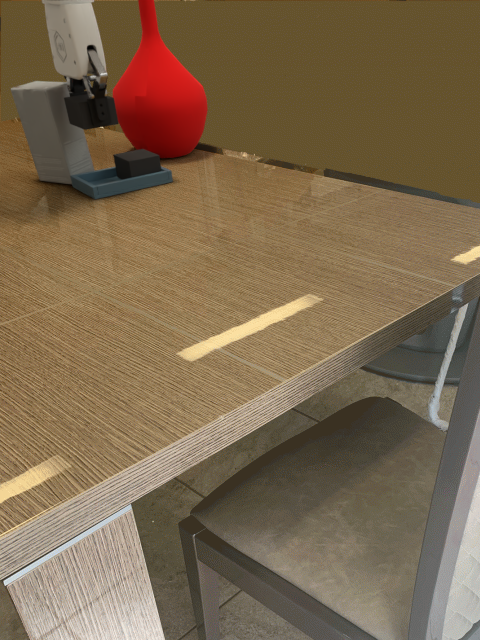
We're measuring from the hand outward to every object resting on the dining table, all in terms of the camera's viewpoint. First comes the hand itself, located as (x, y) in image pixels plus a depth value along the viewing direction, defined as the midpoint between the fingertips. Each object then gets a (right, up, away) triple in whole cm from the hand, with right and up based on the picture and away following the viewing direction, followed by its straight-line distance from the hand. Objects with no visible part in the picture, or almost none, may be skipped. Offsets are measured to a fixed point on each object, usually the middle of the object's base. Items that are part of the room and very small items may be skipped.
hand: (93, 120), depth 107 cm
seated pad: (+5, -6, +10) cm, 13 cm away
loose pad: (0, 0, 0) cm, 1 cm away
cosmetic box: (-9, -6, +11) cm, 16 cm away
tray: (+2, -7, +9) cm, 12 cm away
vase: (+6, +5, +26) cm, 27 cm away
